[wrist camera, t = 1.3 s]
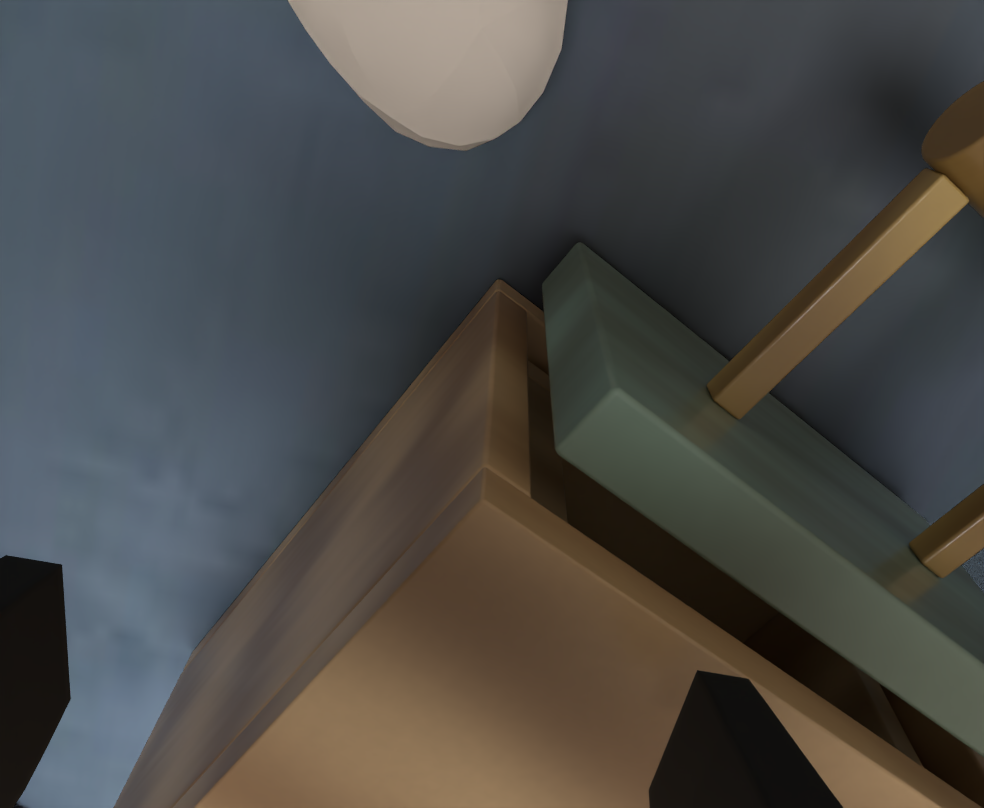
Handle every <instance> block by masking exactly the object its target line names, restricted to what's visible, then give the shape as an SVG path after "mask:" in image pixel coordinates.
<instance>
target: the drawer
mask: <svg viewBox="0 0 984 808" xmlns="http://www.w3.org/2000/svg"><path fill="white" fill-rule="evenodd" d="M921 154H922V157H923V159H924V161H925V162H926V163H927V164H928V165H929V166H930V167H931V168H932V169H933V170H934V171H933V170H931V169H928V168H925V169H923V170H922V171H921V172H920V173H919V174H918V175H917V176H916V177H915V178H914V179H913V180H912V181H911V182H910V183H909V184H908V185H907V186H906V187H905V188H904V189H903V190H902V191H901V192H900V193H899V194H898V195H897V196H896V197H895V198H894V199H893V200H892V201H891V202H890V203H889V204H888V205H887V206H886V207H885V208H884V209H883V210H882V211H881V212H880V213H879V214H878V215H877V216H876V217H875V218H874V219H873V220H872V221H871V222H870V223H869V224H868V225H867V226H866V227H865V228H864V229H863V230H862V231H861V232H860V233H859V234H858V235H857V236H856V237H855V238H854V239H853V240H852V241H851V242H850V243H849V244H848V245H847V246H846V247H845V248H844V249H843V250H842V251H841V252H840V253H838V254H837V255H836V256H835V257H834V258H833V259H832V260H831V261H830V262H829V263H828V264H827V265H826V266H825V267H824V268H823V269H822V270H821V271H820V272H819V273H818V274H817V275H816V276H815V277H814V278H813V279H812V280H811V281H810V282H809V283H808V284H807V285H806V286H805V287H804V288H803V289H802V290H801V291H800V292H799V293H798V294H797V295H796V296H795V297H794V298H793V299H792V300H791V301H790V302H789V303H788V304H787V305H786V306H785V307H784V308H783V309H782V310H781V311H780V312H779V313H778V314H777V315H776V316H775V317H774V318H773V319H772V320H771V321H770V322H769V323H768V324H767V325H766V326H765V327H764V328H763V329H762V330H761V331H760V332H759V333H758V334H757V335H756V336H755V337H754V338H753V339H752V340H751V341H750V342H749V343H748V344H747V345H746V346H745V347H744V348H743V349H742V350H741V351H740V352H739V353H738V354H737V355H736V356H735V357H734V358H733V359H732V360H731V361H730V362H729V361H728V360H727V359H726V358H725V357H723V356H722V355H721V354H720V353H718V352H717V351H716V350H715V349H713V348H712V347H711V346H710V345H708V344H707V343H706V342H705V341H703V340H702V339H701V338H700V337H698V336H697V335H696V334H695V333H693V332H692V331H691V330H690V329H689V328H687V327H686V326H685V325H684V324H682V323H681V322H680V321H679V320H677V319H676V318H675V317H674V316H672V315H671V314H670V313H669V312H667V311H666V310H665V309H664V308H662V307H661V306H660V305H659V304H657V303H656V302H655V301H654V300H653V299H651V298H650V297H649V296H648V295H646V294H645V293H644V292H643V291H641V290H640V289H639V288H638V287H636V286H635V285H634V284H633V283H631V282H630V281H629V280H628V279H626V278H625V277H624V276H623V275H621V274H620V273H619V272H618V271H617V270H615V269H614V268H613V267H612V266H610V265H609V264H608V263H607V262H605V261H604V260H603V259H602V258H600V257H599V256H598V255H597V254H595V253H594V252H593V251H592V250H590V249H589V248H588V247H587V246H585V245H584V244H583V243H580V242H579V243H577V244H575V245H574V247H573V248H572V249H571V250H570V251H569V253H568V254H567V255H566V256H565V257H564V258H563V260H562V261H561V262H560V263H559V264H558V266H557V267H556V268H555V269H554V270H553V271H552V273H551V274H550V275H549V276H548V277H547V279H546V280H545V281H544V282H543V284H542V296H543V309H544V321H545V334H546V347H547V359H548V372H549V376H548V375H547V374H546V373H544V372H543V371H542V370H540V369H539V368H538V367H536V366H535V365H534V364H532V363H531V362H529V361H528V382H529V423H530V464H531V497H530V498H532V499H533V500H535V501H536V502H538V503H539V504H540V505H542V506H543V507H545V508H546V509H548V510H549V511H551V512H552V513H554V514H555V515H556V516H558V517H559V518H561V519H562V520H564V521H565V522H567V523H568V524H570V525H571V526H573V527H574V528H575V529H577V530H578V531H580V532H581V533H583V534H584V535H586V536H587V537H589V538H590V539H591V540H593V541H594V542H596V543H597V544H599V545H600V546H602V547H603V548H605V549H606V550H607V551H609V552H610V553H612V554H613V555H615V556H616V557H618V558H619V559H621V560H622V561H624V562H625V563H626V564H628V565H629V566H631V567H632V568H634V569H635V570H637V571H638V572H640V573H641V574H642V575H644V576H645V577H647V578H648V579H650V580H651V581H653V582H654V583H656V584H657V585H658V586H660V587H661V588H663V589H664V590H666V591H667V592H669V593H670V594H672V595H673V596H675V597H676V598H677V599H679V600H680V601H682V602H683V603H685V604H686V605H688V606H689V607H691V608H692V609H693V610H695V611H696V612H698V613H699V614H701V615H702V616H704V617H705V618H707V619H708V620H709V621H711V622H712V623H714V624H715V625H717V626H718V627H720V628H721V629H723V630H724V631H726V632H727V633H728V634H730V635H731V636H733V637H734V638H736V639H737V640H739V641H740V642H742V643H743V644H744V645H746V646H747V647H749V648H750V649H752V650H753V651H755V652H756V653H758V654H759V655H760V656H762V657H763V658H765V659H766V660H768V661H769V662H771V663H772V664H774V665H775V666H777V667H778V668H779V669H781V670H782V671H784V672H785V673H787V674H788V675H790V676H791V677H793V678H794V679H795V680H797V681H798V682H800V683H801V684H803V685H804V686H806V687H807V688H809V689H810V690H811V691H813V692H814V693H816V694H817V695H819V696H820V697H822V698H823V699H825V700H826V701H828V702H829V703H830V704H832V705H833V706H835V707H836V708H838V709H839V710H841V711H842V712H844V713H845V714H846V715H848V716H849V717H851V718H852V719H854V720H855V721H857V722H858V723H860V724H861V725H862V726H864V727H865V728H867V729H868V730H870V731H871V732H873V733H874V734H876V735H877V736H879V737H880V738H881V739H883V740H884V741H886V742H887V743H889V744H890V745H892V746H893V747H895V748H896V749H897V750H899V751H900V752H902V753H903V754H905V755H906V756H908V757H909V758H911V759H912V760H913V761H915V762H916V763H918V764H919V765H921V766H922V764H921V762H920V760H919V758H918V756H917V754H916V752H915V750H914V749H913V747H912V745H911V743H910V741H909V739H908V737H907V735H906V733H905V732H904V730H903V728H902V726H901V724H900V722H899V720H898V718H897V717H896V715H895V713H894V711H893V709H892V707H891V705H890V703H889V701H888V700H887V698H886V696H885V694H884V692H883V690H882V688H881V686H880V684H881V685H883V686H884V687H885V688H887V689H888V690H890V691H891V692H892V693H894V694H895V695H897V696H898V697H899V698H901V699H902V700H904V701H905V702H906V703H908V704H909V705H911V706H912V707H913V708H915V709H916V710H918V711H919V712H921V713H922V714H923V715H925V716H926V717H928V718H929V719H930V720H932V721H933V722H935V723H936V724H937V725H939V726H940V727H942V728H943V729H944V730H946V731H947V732H949V733H950V734H951V735H953V736H954V737H956V738H957V739H958V740H960V741H961V742H963V743H964V744H965V745H967V746H968V747H970V748H971V749H973V750H974V751H975V752H977V753H978V754H980V755H981V756H982V757H984V593H983V592H982V591H981V589H980V588H979V587H978V586H977V584H976V583H975V582H974V581H973V579H972V578H971V577H970V575H969V574H968V573H967V572H966V570H965V569H964V568H963V567H962V564H963V563H965V562H966V561H967V560H969V559H970V558H971V557H973V556H974V555H975V554H977V553H978V552H979V551H980V550H982V549H983V548H984V484H983V485H981V486H980V487H979V488H978V489H976V490H975V491H974V492H973V493H971V494H970V495H969V496H967V497H966V498H965V499H964V500H962V501H961V502H960V503H959V504H957V505H956V506H955V507H954V508H952V509H951V510H950V511H948V512H947V513H946V514H945V515H943V516H942V517H941V518H940V519H938V520H937V521H936V522H935V523H933V524H932V525H931V526H930V525H929V524H928V522H927V521H926V520H925V519H924V518H923V517H922V516H921V515H919V514H918V513H917V512H916V511H914V510H913V509H912V508H911V507H909V506H908V505H907V504H906V503H905V502H903V501H902V500H901V499H900V498H898V497H897V496H896V495H895V494H893V493H892V492H891V491H890V490H888V489H887V488H886V487H885V486H883V485H882V484H881V483H880V482H878V481H877V480H876V479H875V478H873V477H872V476H871V475H870V474H869V473H867V472H866V471H865V470H864V469H862V468H861V467H860V466H859V465H857V464H856V463H855V462H854V461H852V460H851V459H850V458H849V457H847V456H846V455H845V454H844V453H842V452H841V451H840V450H839V449H837V448H836V447H835V446H834V445H833V444H831V443H830V442H829V441H828V440H826V439H825V438H824V437H823V436H821V435H820V434H819V433H818V432H816V431H815V430H814V429H813V428H811V427H810V426H809V425H808V424H806V423H805V422H804V421H803V420H801V419H800V418H799V417H798V416H797V415H795V414H794V413H793V412H792V411H790V410H789V409H788V408H787V407H785V406H784V405H783V404H782V403H780V402H779V401H778V400H777V399H775V398H774V397H773V396H772V395H770V394H769V393H768V392H770V391H771V390H772V389H773V388H774V387H775V386H776V385H777V384H778V383H779V382H780V381H781V380H782V379H783V378H784V377H785V376H786V375H787V374H788V373H790V372H791V371H792V370H793V369H794V368H795V367H796V366H797V365H798V364H799V363H800V362H801V361H802V360H803V359H804V358H805V357H806V356H807V355H808V354H810V353H811V352H812V351H813V350H814V349H815V348H816V347H817V346H818V345H819V344H820V343H821V342H822V341H823V340H824V339H825V338H826V337H827V336H828V335H830V334H831V333H832V332H833V331H834V330H835V329H836V328H837V327H838V326H839V325H840V324H841V323H842V322H843V321H844V320H845V319H846V318H847V317H848V316H850V315H851V314H852V313H853V312H854V311H855V310H856V309H857V308H858V307H859V306H860V305H861V304H862V303H863V302H864V301H865V300H866V299H867V298H868V297H870V296H871V295H872V294H873V293H874V292H875V291H876V290H877V289H878V288H879V287H880V286H881V285H882V284H883V283H884V282H885V281H886V280H887V279H888V278H890V277H891V276H892V275H893V274H894V273H895V272H896V271H897V270H898V269H899V268H900V267H901V266H902V265H903V264H904V263H905V262H906V261H907V260H908V259H910V258H911V257H912V256H913V255H914V254H915V253H916V252H917V251H918V250H919V249H920V248H921V247H922V246H923V245H924V244H925V243H926V242H927V241H928V240H930V239H931V238H932V237H933V236H934V235H935V234H936V233H937V232H938V231H939V230H940V229H941V228H942V227H943V226H944V225H945V224H946V223H947V222H948V221H950V220H951V219H952V218H953V217H954V216H955V215H956V214H957V213H958V212H959V211H960V210H961V209H962V208H963V207H964V206H965V205H966V204H967V203H968V204H969V205H970V206H971V207H972V208H973V209H974V210H975V211H976V212H977V213H978V214H980V215H981V216H982V217H983V218H984V81H983V82H981V83H979V84H978V85H976V86H975V87H973V88H972V89H970V90H969V91H967V92H966V93H965V94H963V95H962V96H961V97H960V98H958V99H957V100H956V101H955V102H954V103H953V104H952V105H950V106H949V107H948V108H947V109H946V110H945V111H944V112H943V113H942V115H941V116H940V117H939V118H938V119H937V120H936V121H935V123H934V124H933V125H932V127H931V128H930V130H929V131H928V133H927V135H926V136H925V138H924V141H923V144H922V148H921ZM879 683H880V684H879ZM922 767H923V766H922Z"/></svg>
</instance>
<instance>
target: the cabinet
mask: <svg viewBox="0 0 984 808" xmlns="http://www.w3.org/2000/svg"><path fill="white" fill-rule="evenodd" d="M528 361H529V362H531V363H532V364H534V365H535V366H536V367H538V368H539V369H540V370H542V371H543V372H544V373H546V374H547V375H548V376H549V372H548V359H547V347H546V334H545V321H544V312H543V311H542V310H540V309H539V308H538V307H537V306H535V305H534V304H533V303H531V302H530V301H529V300H527V299H526V298H525V297H523V296H522V295H521V294H520V293H518V292H517V291H516V290H514V289H513V288H512V287H510V286H509V285H508V284H506V283H505V282H504V281H503V280H500V279H498V280H496V281H495V282H494V284H493V285H492V286H491V287H490V289H489V290H488V291H487V292H486V294H485V295H484V296H483V297H482V298H481V300H480V301H479V302H478V303H477V305H476V306H475V307H474V308H473V309H472V311H471V312H470V313H469V314H468V316H467V317H466V318H465V319H464V320H463V322H462V323H461V324H460V325H459V327H458V328H457V329H456V330H455V331H454V333H453V334H452V335H451V336H450V338H449V339H448V340H447V341H446V342H445V344H444V345H443V346H442V347H441V349H440V350H439V351H438V352H437V353H436V355H435V356H434V357H433V358H432V360H431V361H430V362H429V363H428V364H427V366H426V367H425V368H424V369H423V371H422V372H421V373H420V374H419V375H418V377H417V378H416V379H415V380H414V382H413V383H412V384H411V385H410V386H409V388H408V389H407V390H406V391H405V393H404V394H403V395H402V396H401V398H400V399H399V400H398V401H397V402H396V404H395V405H394V406H393V407H392V409H391V410H390V411H389V412H388V413H387V415H386V416H385V417H384V418H383V420H382V421H381V422H380V423H379V424H378V426H377V427H376V428H375V429H374V431H373V432H372V433H371V434H370V435H369V437H368V438H367V439H366V440H365V442H364V443H363V444H362V445H361V446H360V448H359V449H358V450H357V451H356V453H355V454H354V455H353V456H352V457H351V459H350V460H349V461H348V462H347V464H346V465H345V466H344V467H343V468H342V470H341V471H340V472H339V473H338V475H337V476H336V477H335V478H334V479H333V481H332V482H331V483H330V484H329V486H328V487H327V488H326V489H325V490H324V492H323V493H322V494H321V495H320V497H319V498H318V499H317V500H316V502H315V503H314V504H313V505H312V506H311V508H310V509H309V510H308V511H307V513H306V514H305V515H304V516H303V517H302V519H301V520H300V521H299V522H298V524H297V525H296V526H295V527H294V528H293V530H292V531H291V532H290V533H289V535H288V536H287V537H286V538H285V539H284V541H283V542H282V543H281V544H280V546H279V547H278V548H277V549H276V550H275V552H274V553H273V554H272V555H271V557H270V558H269V559H268V560H267V561H266V563H265V564H264V565H263V566H262V568H261V569H260V570H259V571H258V572H257V574H256V575H255V576H254V577H253V579H252V580H251V581H250V582H249V583H248V585H247V586H246V587H245V588H244V590H243V591H242V592H241V593H240V594H239V596H238V597H237V598H236V599H235V601H234V602H233V603H232V604H231V606H230V607H229V608H228V609H227V610H226V612H225V613H224V614H223V615H222V617H221V618H220V619H219V620H218V621H217V623H216V624H215V625H214V626H213V628H212V629H211V630H210V631H209V632H208V634H207V635H206V636H205V637H204V639H203V640H202V641H201V642H200V643H199V645H198V646H197V647H196V648H195V650H194V651H193V652H192V654H191V656H190V658H189V660H188V662H187V664H186V666H185V668H184V670H183V673H182V674H181V675H180V677H179V679H178V681H177V683H176V685H175V687H174V689H173V691H172V693H171V695H170V697H169V699H168V701H167V703H166V705H165V707H164V709H163V711H162V713H161V715H160V717H159V719H158V721H157V723H156V725H155V727H154V729H153V731H152V733H151V735H150V737H149V739H148V741H147V743H146V745H145V747H144V749H143V751H142V753H141V755H140V757H139V758H138V760H137V762H136V764H135V766H134V768H133V770H132V772H131V774H130V776H129V778H128V780H127V782H126V784H125V786H124V788H123V790H122V792H121V794H120V796H119V798H118V800H117V802H116V804H115V806H114V808H650V806H649V788H650V785H651V783H652V780H653V778H654V775H655V773H656V770H657V768H658V765H659V763H660V760H661V758H662V756H663V753H664V751H665V748H666V746H667V743H668V741H669V738H670V736H671V733H672V731H673V728H674V726H675V723H676V721H677V718H678V716H679V714H680V711H681V709H682V706H683V704H684V701H685V699H686V696H687V694H688V691H689V689H690V686H691V684H692V681H693V679H694V677H695V674H696V672H697V670H699V671H705V672H711V673H717V674H723V675H730V676H736V677H742V678H748V679H749V680H750V681H751V683H752V684H753V685H754V686H755V688H756V689H757V690H758V692H759V693H760V694H761V696H762V697H763V698H764V700H765V701H766V703H767V704H768V705H769V707H770V708H771V709H772V711H773V712H774V714H775V715H776V716H777V718H778V719H779V720H780V722H781V723H782V725H783V726H784V727H785V729H786V730H787V731H788V733H789V734H790V736H791V737H792V738H793V740H794V741H795V742H796V744H797V745H798V747H799V748H800V749H801V751H802V752H803V753H804V755H805V756H806V758H807V759H808V760H809V762H810V763H811V764H812V766H813V767H814V769H815V770H816V771H817V773H818V774H819V775H820V777H821V778H822V779H823V781H824V782H825V784H826V785H827V786H828V788H829V789H830V790H831V792H832V793H833V794H834V796H835V797H836V798H837V800H838V801H839V802H840V804H841V805H842V806H843V808H984V757H982V756H981V755H980V754H978V753H977V752H975V751H974V750H973V749H971V748H970V747H968V746H967V745H965V744H964V743H963V742H961V741H960V740H958V739H957V738H956V737H954V736H953V735H951V734H950V733H949V732H947V731H946V730H944V729H943V728H942V727H940V726H939V725H937V724H936V723H935V722H933V721H932V720H930V719H929V718H928V717H926V716H925V715H923V714H922V713H921V712H919V711H918V710H916V709H915V708H913V707H912V706H911V705H909V704H908V703H906V702H905V701H904V700H902V699H901V698H899V697H898V696H897V695H895V694H894V693H892V692H891V691H890V690H888V689H887V688H885V687H884V686H883V685H881V684H880V683H879V684H880V686H881V688H882V690H883V692H884V694H885V696H886V698H887V700H888V701H889V703H890V705H891V707H892V709H893V711H894V713H895V715H896V717H897V718H898V720H899V722H900V724H901V726H902V728H903V730H904V732H905V733H906V735H907V737H908V739H909V741H910V743H911V745H912V747H913V749H914V750H915V752H916V754H917V756H918V758H919V760H920V762H921V764H922V766H923V767H922V766H921V765H919V764H918V763H916V762H915V761H913V760H912V759H911V758H909V757H908V756H906V755H905V754H903V753H902V752H900V751H899V750H897V749H896V748H895V747H893V746H892V745H890V744H889V743H887V742H886V741H884V740H883V739H881V738H880V737H879V736H877V735H876V734H874V733H873V732H871V731H870V730H868V729H867V728H865V727H864V726H862V725H861V724H860V723H858V722H857V721H855V720H854V719H852V718H851V717H849V716H848V715H846V714H845V713H844V712H842V711H841V710H839V709H838V708H836V707H835V706H833V705H832V704H830V703H829V702H828V701H826V700H825V699H823V698H822V697H820V696H819V695H817V694H816V693H814V692H813V691H811V690H810V689H809V688H807V687H806V686H804V685H803V684H801V683H800V682H798V681H797V680H795V679H794V678H793V677H791V676H790V675H788V674H787V673H785V672H784V671H782V670H781V669H779V668H778V667H777V666H775V665H774V664H772V663H771V662H769V661H768V660H766V659H765V658H763V657H762V656H760V655H759V654H758V653H756V652H755V651H753V650H752V649H750V648H749V647H747V646H746V645H744V644H743V643H742V642H740V641H739V640H737V639H736V638H734V637H733V636H731V635H730V634H728V633H727V632H726V631H724V630H723V629H721V628H720V627H718V626H717V625H715V624H714V623H712V622H711V621H709V620H708V619H707V618H705V617H704V616H702V615H701V614H699V613H698V612H696V611H695V610H693V609H692V608H691V607H689V606H688V605H686V604H685V603H683V602H682V601H680V600H679V599H677V598H676V597H675V596H673V595H672V594H670V593H669V592H667V591H666V590H664V589H663V588H661V587H660V586H658V585H657V584H656V583H654V582H653V581H651V580H650V579H648V578H647V577H645V576H644V575H642V574H641V573H640V572H638V571H637V570H635V569H634V568H632V567H631V566H629V565H628V564H626V563H625V562H624V561H622V560H621V559H619V558H618V557H616V556H615V555H613V554H612V553H610V552H609V551H607V550H606V549H605V548H603V547H602V546H600V545H599V544H597V543H596V542H594V541H593V540H591V539H590V538H589V537H587V536H586V535H584V534H583V533H581V532H580V531H578V530H577V529H575V528H574V527H573V526H571V525H570V524H568V523H567V522H565V521H564V520H562V519H561V518H559V517H558V516H556V515H555V514H554V513H552V512H551V511H549V510H548V509H546V508H545V507H543V506H542V505H540V504H539V503H538V502H536V501H535V500H533V499H532V498H530V497H531V464H530V423H529V382H528Z"/></svg>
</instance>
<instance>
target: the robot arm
mask: <svg viewBox="0 0 984 808" xmlns="http://www.w3.org/2000/svg"><path fill="white" fill-rule="evenodd" d="M70 699H71V698H70V683H69V667H68V651H67V636H66V620H65V605H64V589H63V573H62V565H61V564H55V563H49V562H43V561H37V560H31V559H25V558H19V557H13V556H7V555H6V556H4V557H2V558H0V808H13V807H14V806H15V804H16V803H17V801H18V799H19V798H20V796H21V795H22V793H23V792H24V790H25V788H26V786H27V785H28V783H29V781H30V779H31V777H32V775H33V773H34V771H35V769H36V767H37V765H38V763H39V762H40V760H41V758H42V756H43V754H44V752H45V750H46V748H47V746H48V744H49V742H50V740H51V738H52V736H53V734H54V732H55V730H56V728H57V726H58V724H59V722H60V720H61V718H62V715H63V713H64V711H65V709H66V707H67V705H68V703H69V701H70ZM649 806H650V808H843V806H842V805H841V804H840V802H839V801H838V800H837V798H836V797H835V796H834V794H833V793H832V792H831V790H830V789H829V788H828V786H827V785H826V784H825V782H824V781H823V779H822V778H821V777H820V775H819V774H818V773H817V771H816V770H815V769H814V767H813V766H812V764H811V763H810V762H809V760H808V759H807V758H806V756H805V755H804V753H803V752H802V751H801V749H800V748H799V747H798V745H797V744H796V742H795V741H794V740H793V738H792V737H791V736H790V734H789V733H788V731H787V730H786V729H785V727H784V726H783V725H782V723H781V722H780V720H779V719H778V718H777V716H776V715H775V714H774V712H773V711H772V709H771V708H770V707H769V705H768V704H767V703H766V701H765V700H764V698H763V697H762V696H761V694H760V693H759V692H758V690H757V689H756V688H755V686H754V685H753V684H752V683H751V681H750V680H749V679H748V678H742V677H736V676H730V675H723V674H717V673H711V672H705V671H699V670H697V672H696V674H695V677H694V679H693V681H692V684H691V686H690V689H689V691H688V694H687V696H686V699H685V701H684V704H683V706H682V709H681V711H680V714H679V716H678V718H677V721H676V723H675V726H674V728H673V731H672V733H671V736H670V738H669V741H668V743H667V746H666V748H665V751H664V753H663V756H662V758H661V760H660V763H659V765H658V768H657V770H656V773H655V775H654V778H653V780H652V783H651V785H650V788H649Z"/></svg>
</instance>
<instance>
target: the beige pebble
mask: <svg viewBox="0 0 984 808" xmlns="http://www.w3.org/2000/svg"><path fill="white" fill-rule="evenodd" d="M288 2H289V3H290V5H291V7H292V8H293V10H294V12H295V13H296V15H297V16H298V18H299V20H300V21H301V23H302V24H303V26H304V28H305V29H306V31H307V32H308V34H309V35H310V36H311V38H312V39H313V41H314V42H315V43H316V45H317V46H318V47H319V49H320V50H321V52H322V53H323V54H324V56H325V57H326V58H327V60H328V61H329V63H330V64H331V65H332V66H333V67H334V68H335V69H336V70H337V72H338V73H339V74H340V75H341V76H342V77H343V78H344V80H345V81H346V82H347V83H348V84H349V85H350V87H351V88H352V89H353V90H354V91H355V92H356V93H357V95H358V96H359V97H360V98H361V99H362V100H363V101H364V102H365V103H366V104H367V105H368V106H369V107H370V108H371V109H372V110H373V111H374V112H375V113H376V114H377V115H378V116H379V117H381V118H382V119H383V120H384V121H385V122H386V123H387V124H388V125H389V126H390V127H391V128H392V129H393V130H394V131H395V132H397V133H400V134H402V135H404V136H407V137H409V138H411V139H413V140H416V141H418V142H420V143H422V144H425V145H427V146H429V147H436V148H445V149H454V150H463V151H467V150H469V149H472V148H474V147H477V146H479V145H481V144H484V143H486V142H488V141H491V140H493V139H495V138H497V137H499V136H500V135H502V134H503V133H505V132H506V131H507V130H509V129H510V128H512V127H513V126H515V125H516V124H518V123H519V122H520V121H521V120H522V119H523V117H524V116H525V115H526V114H527V112H528V111H529V110H530V109H531V107H532V106H533V105H534V103H535V102H536V101H537V100H538V98H539V97H540V96H541V95H542V93H543V92H544V89H545V87H546V84H547V82H548V80H549V77H550V75H551V73H552V70H553V68H554V66H555V63H556V61H557V58H558V56H559V54H560V51H561V49H562V41H563V33H564V26H565V18H566V10H567V2H568V0H288Z"/></svg>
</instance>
